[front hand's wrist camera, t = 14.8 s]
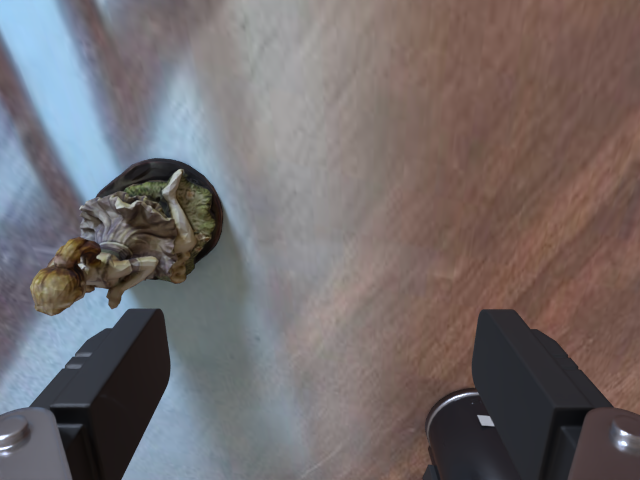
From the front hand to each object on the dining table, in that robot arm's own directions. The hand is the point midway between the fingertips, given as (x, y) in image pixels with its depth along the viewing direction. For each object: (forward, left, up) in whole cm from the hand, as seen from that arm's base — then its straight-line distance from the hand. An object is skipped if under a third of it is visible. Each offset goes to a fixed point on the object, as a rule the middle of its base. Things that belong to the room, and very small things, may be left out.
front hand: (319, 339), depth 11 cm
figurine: (-9, +12, -28) cm, 32 cm away
